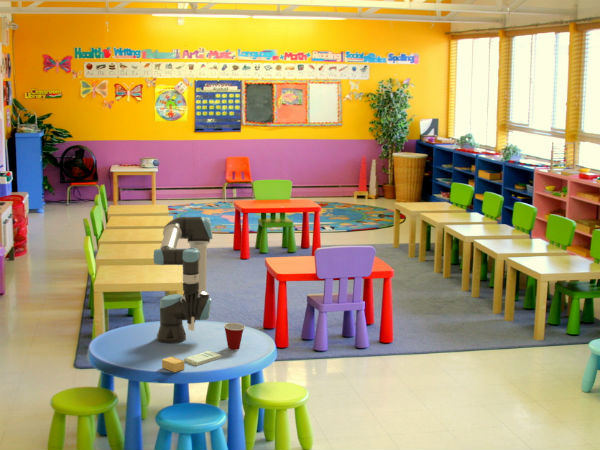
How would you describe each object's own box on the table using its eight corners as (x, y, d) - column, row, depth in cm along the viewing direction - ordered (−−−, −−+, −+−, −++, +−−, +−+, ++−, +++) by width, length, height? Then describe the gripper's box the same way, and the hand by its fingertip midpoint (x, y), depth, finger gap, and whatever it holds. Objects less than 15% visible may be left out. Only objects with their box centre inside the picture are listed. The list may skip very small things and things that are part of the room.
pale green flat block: (184, 361, 392) (184, 358, 392) (208, 353, 404) (208, 350, 404) (196, 365, 387) (196, 362, 386) (221, 357, 398) (221, 354, 398)
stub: (162, 367, 382) (162, 359, 382) (172, 364, 387) (172, 356, 386) (174, 372, 377) (174, 363, 376) (184, 368, 381) (184, 360, 380)
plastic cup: (241, 352, 407) (241, 329, 405) (221, 350, 409) (221, 327, 407) (247, 345, 417) (247, 323, 415) (227, 344, 420) (227, 321, 417)
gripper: (185, 286, 376) (185, 334, 381) (206, 281, 385) (206, 328, 390) (175, 283, 381) (175, 331, 386) (196, 278, 390) (196, 324, 395)
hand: (191, 329), depth 388 cm, fingers closed
